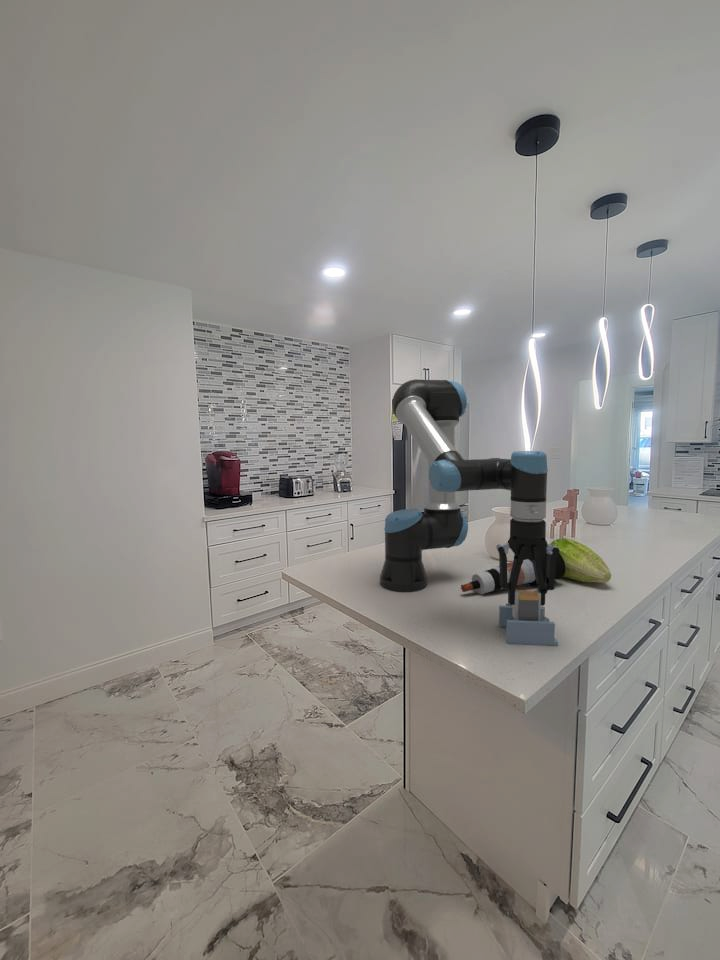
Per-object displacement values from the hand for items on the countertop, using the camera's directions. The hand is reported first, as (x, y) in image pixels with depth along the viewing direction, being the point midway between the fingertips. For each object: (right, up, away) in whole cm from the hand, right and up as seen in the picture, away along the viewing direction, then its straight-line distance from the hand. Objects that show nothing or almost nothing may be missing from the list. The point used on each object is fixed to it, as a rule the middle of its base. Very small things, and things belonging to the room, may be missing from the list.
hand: (526, 617), depth 94 cm
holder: (0, -4, +1) cm, 4 cm away
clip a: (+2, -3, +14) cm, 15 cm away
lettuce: (+32, 0, +38) cm, 49 cm away
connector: (0, 0, 0) cm, 1 cm away
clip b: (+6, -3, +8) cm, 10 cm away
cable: (+8, -2, +31) cm, 32 cm away
